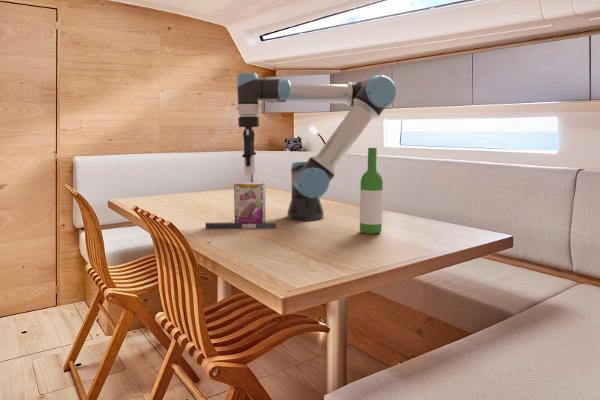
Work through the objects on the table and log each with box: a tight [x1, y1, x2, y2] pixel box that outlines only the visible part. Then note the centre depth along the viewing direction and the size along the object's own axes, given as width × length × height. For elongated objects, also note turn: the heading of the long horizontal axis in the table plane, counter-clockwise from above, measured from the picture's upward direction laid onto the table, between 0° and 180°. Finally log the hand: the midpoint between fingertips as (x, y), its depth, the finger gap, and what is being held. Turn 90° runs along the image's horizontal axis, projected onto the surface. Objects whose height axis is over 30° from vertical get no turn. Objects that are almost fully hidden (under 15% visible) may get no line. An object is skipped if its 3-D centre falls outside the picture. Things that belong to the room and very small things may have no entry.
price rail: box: [205, 221, 277, 230], centre depth 173 cm, size 26×2×2 cm, turn 92°
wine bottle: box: [359, 147, 384, 235], centre depth 164 cm, size 8×8×30 cm
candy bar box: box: [233, 181, 266, 222], centre depth 177 cm, size 11×5×16 cm, turn 81°
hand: (249, 173), depth 175 cm, fingers open, 13 cm apart
